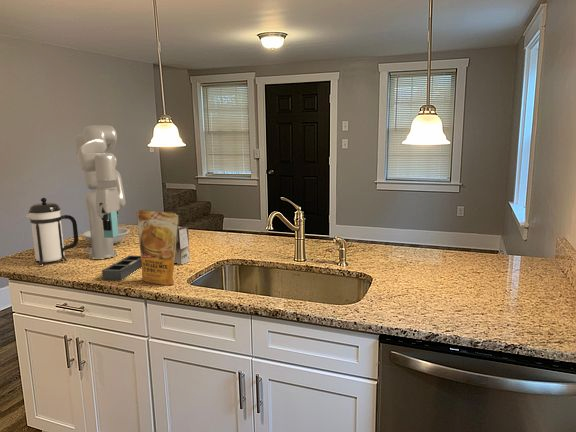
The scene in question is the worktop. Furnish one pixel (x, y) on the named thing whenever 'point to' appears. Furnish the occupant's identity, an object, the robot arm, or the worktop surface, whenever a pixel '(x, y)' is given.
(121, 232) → the soup bowl
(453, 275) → the worktop surface
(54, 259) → the coffee press
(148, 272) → the pancake mix bag
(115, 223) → the peg
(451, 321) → the worktop surface
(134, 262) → the rail
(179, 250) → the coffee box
